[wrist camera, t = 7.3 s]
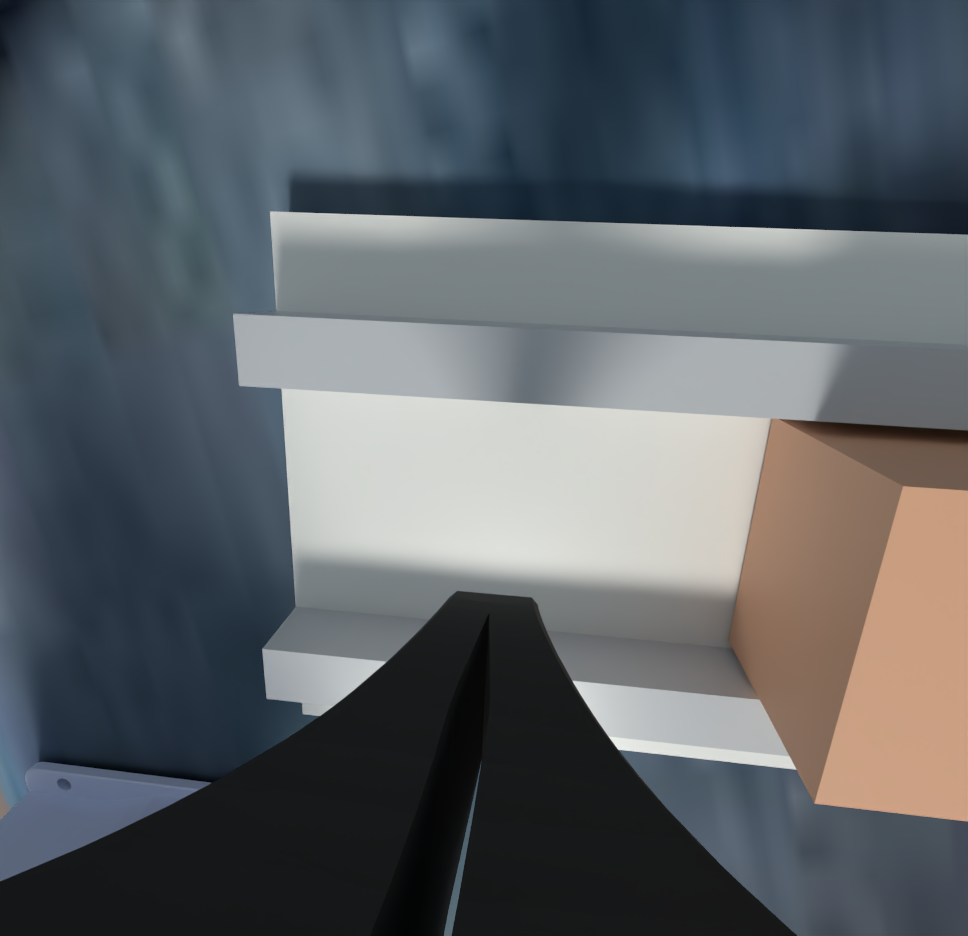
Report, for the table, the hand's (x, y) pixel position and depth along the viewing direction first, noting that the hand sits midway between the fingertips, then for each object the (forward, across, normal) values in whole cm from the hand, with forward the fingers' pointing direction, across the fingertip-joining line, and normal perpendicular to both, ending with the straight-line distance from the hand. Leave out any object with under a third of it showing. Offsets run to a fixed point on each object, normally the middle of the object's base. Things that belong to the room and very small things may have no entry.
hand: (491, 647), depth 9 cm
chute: (+7, -4, 0) cm, 8 cm away
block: (+6, -8, 0) cm, 10 cm away
